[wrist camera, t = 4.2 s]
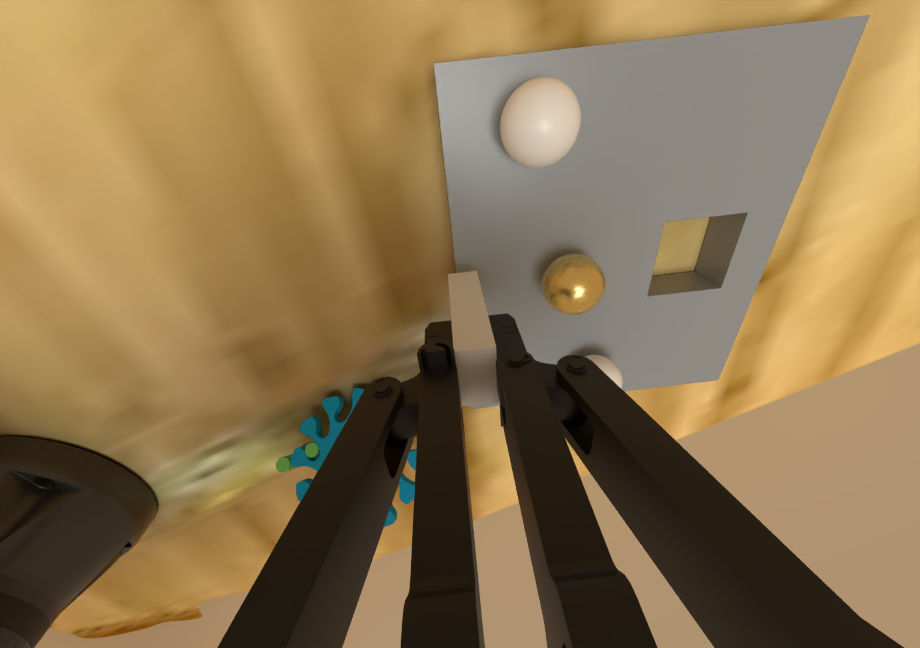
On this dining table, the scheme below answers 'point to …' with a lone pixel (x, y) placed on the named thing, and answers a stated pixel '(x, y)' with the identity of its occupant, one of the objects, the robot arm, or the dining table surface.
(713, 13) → the dining table surface
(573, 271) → the ball
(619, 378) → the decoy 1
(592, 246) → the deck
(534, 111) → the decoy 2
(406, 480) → the gear
